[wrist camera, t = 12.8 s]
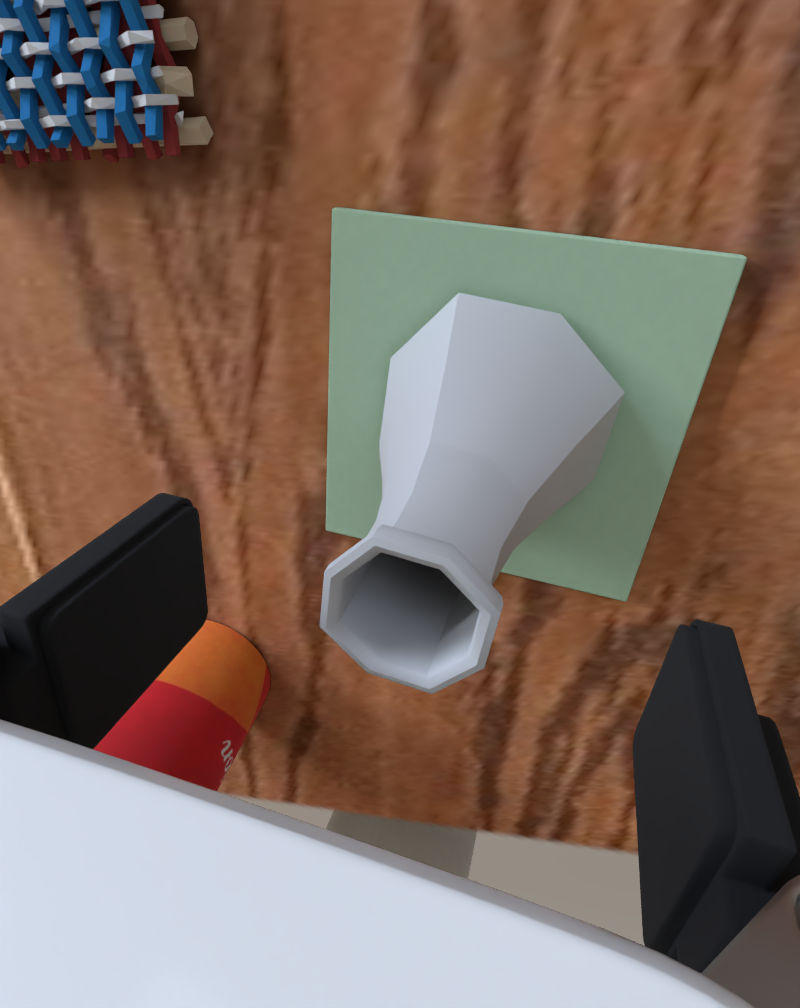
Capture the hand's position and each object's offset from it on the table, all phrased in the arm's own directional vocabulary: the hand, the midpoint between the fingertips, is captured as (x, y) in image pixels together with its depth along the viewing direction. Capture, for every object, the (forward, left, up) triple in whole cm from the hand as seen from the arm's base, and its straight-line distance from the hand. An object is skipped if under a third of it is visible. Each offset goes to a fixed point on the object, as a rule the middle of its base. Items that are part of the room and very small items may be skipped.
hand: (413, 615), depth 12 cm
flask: (+1, 0, -9) cm, 9 cm away
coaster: (0, 0, -10) cm, 10 cm away
